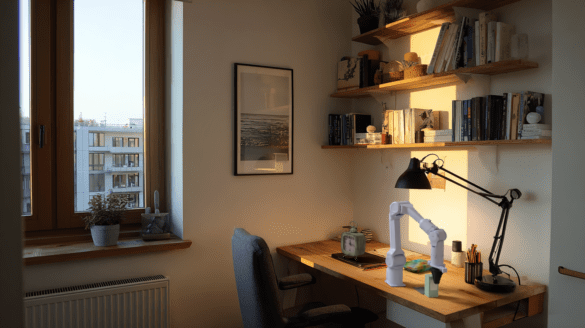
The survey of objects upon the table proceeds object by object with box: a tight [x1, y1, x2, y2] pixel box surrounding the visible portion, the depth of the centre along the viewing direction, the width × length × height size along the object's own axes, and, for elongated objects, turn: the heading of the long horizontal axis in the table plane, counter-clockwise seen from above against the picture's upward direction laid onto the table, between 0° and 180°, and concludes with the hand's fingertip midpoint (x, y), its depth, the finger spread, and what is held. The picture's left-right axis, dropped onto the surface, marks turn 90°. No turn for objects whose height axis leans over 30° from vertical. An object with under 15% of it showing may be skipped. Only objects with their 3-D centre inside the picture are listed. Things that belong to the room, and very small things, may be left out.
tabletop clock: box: [340, 220, 367, 260], centre depth 267 cm, size 14×9×25 cm, turn 37°
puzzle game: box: [403, 258, 432, 274], centre depth 246 cm, size 12×5×20 cm
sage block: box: [424, 273, 440, 298], centre depth 200 cm, size 4×5×10 cm
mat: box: [412, 286, 425, 295], centre depth 208 cm, size 10×7×1 cm
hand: (436, 283), depth 196 cm, fingers closed
